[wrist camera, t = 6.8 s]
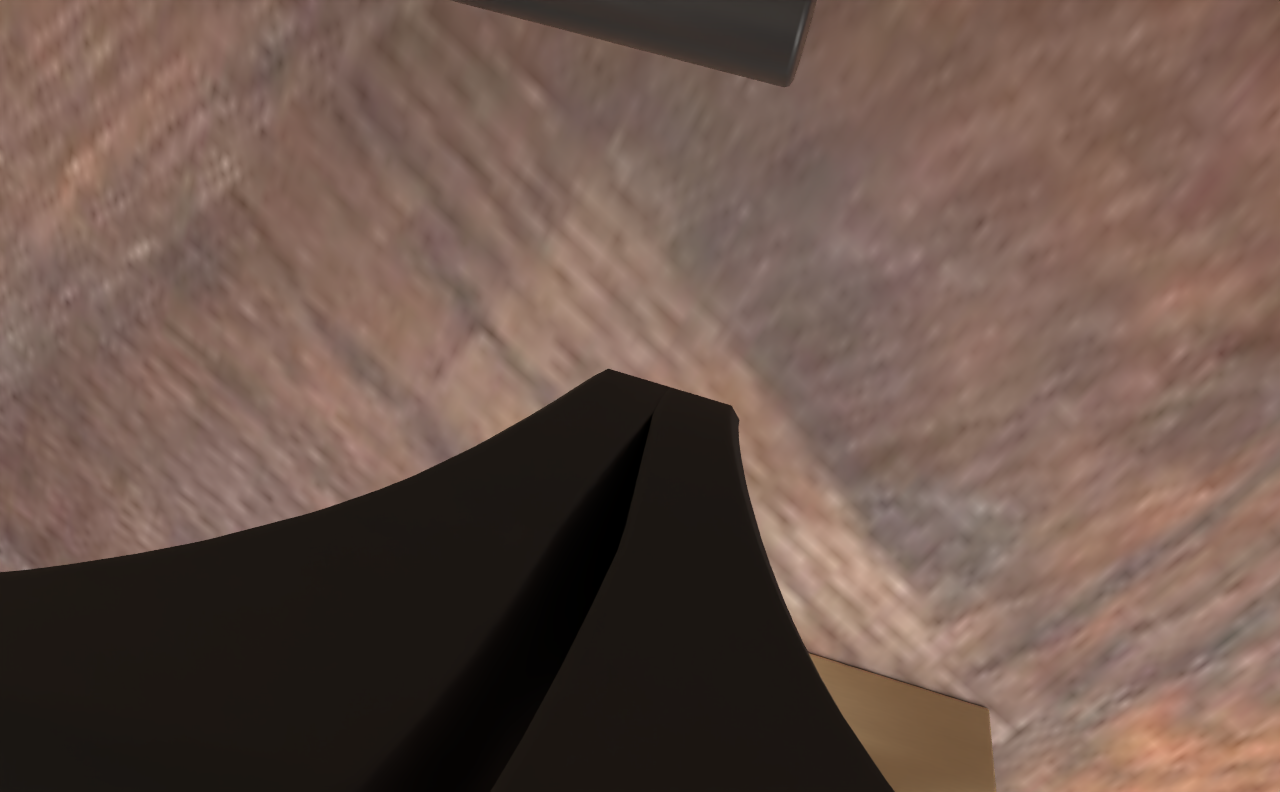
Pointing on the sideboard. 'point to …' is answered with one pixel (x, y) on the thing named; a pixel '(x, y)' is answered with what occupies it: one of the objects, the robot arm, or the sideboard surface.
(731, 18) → the drawer
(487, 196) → the sideboard surface
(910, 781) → the block
